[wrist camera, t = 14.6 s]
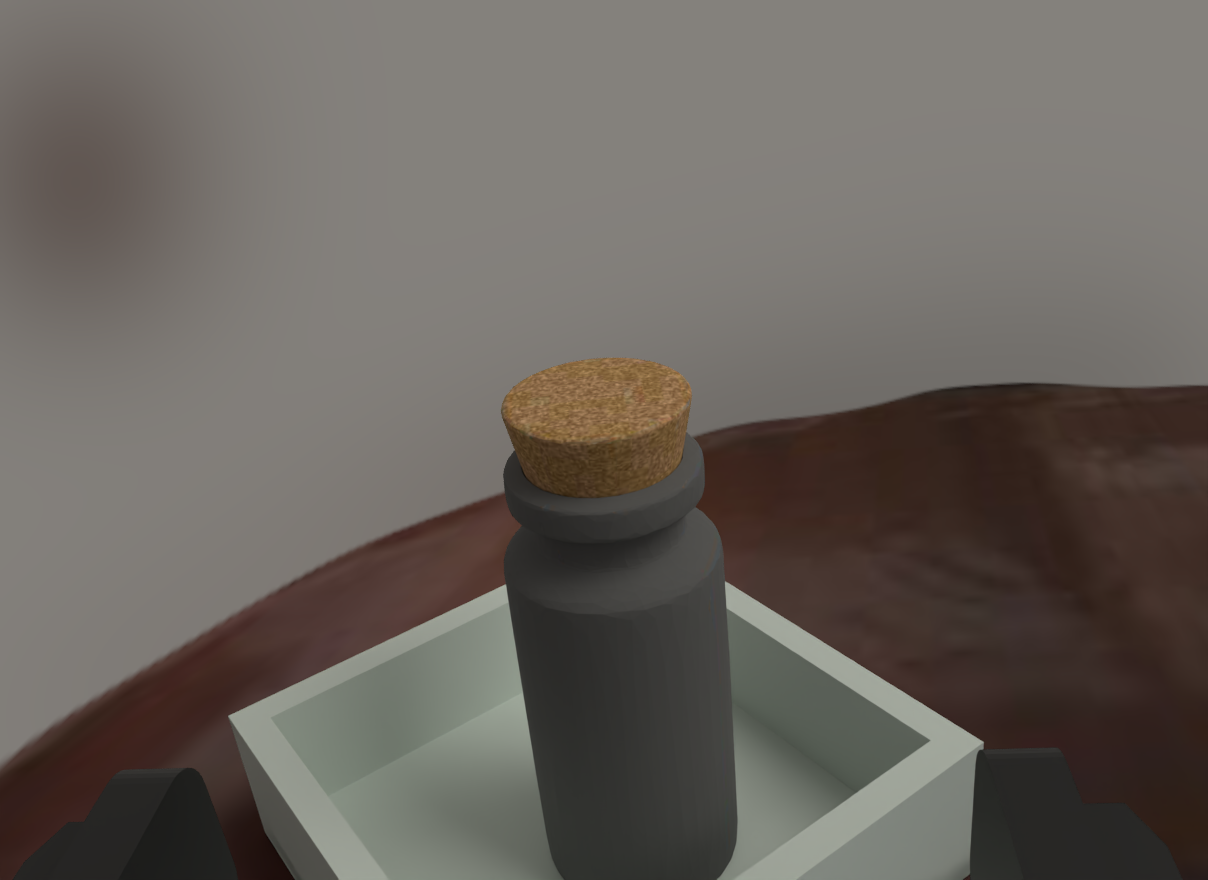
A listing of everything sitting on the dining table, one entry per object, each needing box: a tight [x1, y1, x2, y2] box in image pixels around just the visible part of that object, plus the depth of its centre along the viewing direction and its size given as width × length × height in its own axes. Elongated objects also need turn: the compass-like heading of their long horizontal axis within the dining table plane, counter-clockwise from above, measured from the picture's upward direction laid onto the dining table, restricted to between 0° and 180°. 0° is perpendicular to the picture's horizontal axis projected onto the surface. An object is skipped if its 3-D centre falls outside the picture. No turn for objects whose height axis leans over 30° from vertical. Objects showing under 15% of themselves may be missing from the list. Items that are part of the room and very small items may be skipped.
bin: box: [228, 582, 984, 880], centre depth 35 cm, size 16×16×5 cm
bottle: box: [501, 358, 738, 880], centre depth 31 cm, size 6×6×15 cm
